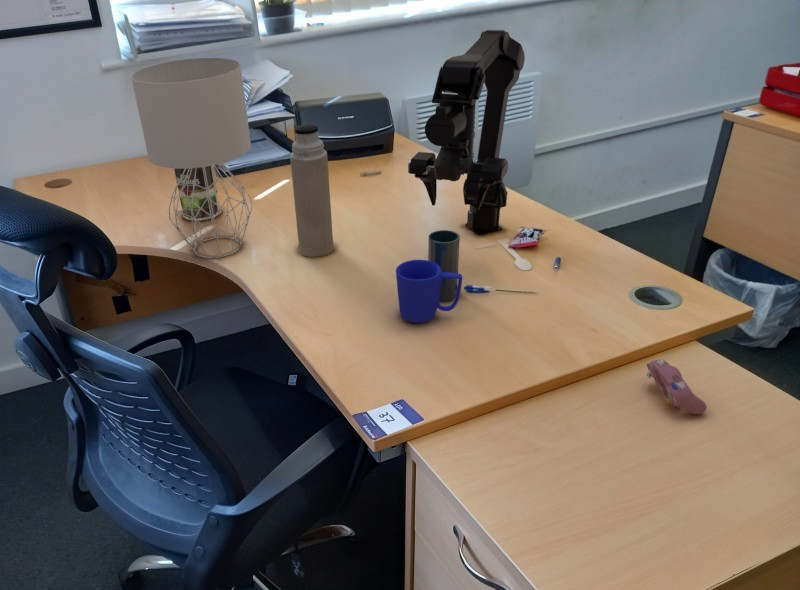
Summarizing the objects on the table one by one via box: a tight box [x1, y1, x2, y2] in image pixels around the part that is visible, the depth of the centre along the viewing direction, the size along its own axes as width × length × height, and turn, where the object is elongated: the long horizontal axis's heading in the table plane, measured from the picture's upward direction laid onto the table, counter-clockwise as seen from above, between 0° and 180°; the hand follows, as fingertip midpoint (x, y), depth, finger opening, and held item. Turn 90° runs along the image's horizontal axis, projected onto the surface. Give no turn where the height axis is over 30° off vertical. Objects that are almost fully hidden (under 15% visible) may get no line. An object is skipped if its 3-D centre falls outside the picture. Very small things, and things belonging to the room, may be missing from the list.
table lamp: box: [130, 57, 254, 259], centre depth 151 cm, size 22×22×40 cm
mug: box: [395, 259, 463, 324], centre depth 127 cm, size 8×12×10 cm
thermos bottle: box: [289, 123, 334, 258], centre depth 150 cm, size 8×8×28 cm
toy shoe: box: [645, 358, 708, 415], centre depth 104 cm, size 10×5×7 cm, turn 5°
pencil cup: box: [427, 229, 461, 303], centre depth 133 cm, size 6×6×13 cm
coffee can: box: [173, 165, 222, 222], centre depth 177 cm, size 10×10×14 cm
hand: (455, 207), depth 140 cm, fingers open, 9 cm apart
